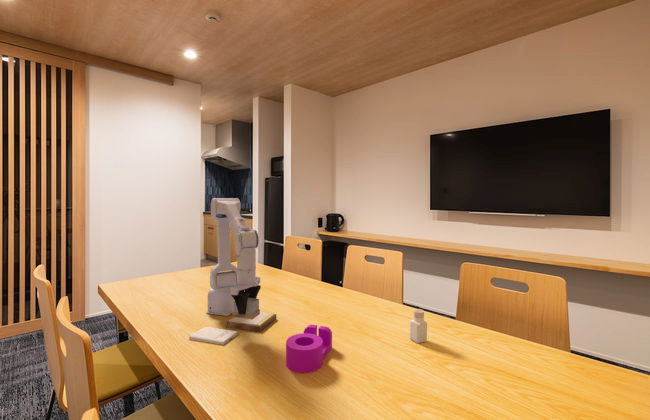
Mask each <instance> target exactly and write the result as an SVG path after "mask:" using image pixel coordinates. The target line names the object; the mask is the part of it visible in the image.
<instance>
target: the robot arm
mask: <svg viewBox="0 0 650 420" xmlns="http://www.w3.org/2000/svg"><path fill="white" fill-rule="evenodd" d="M241 208H242V205H241V201H240V199H239V198H238V197H235V198H234V197H231V198H230V197H229V198H228V197H227V198H226V197H225V198H224V197H222V198H220V197H218V198H216V197H213V198H212V199H211V200H210V218H211V220H212V221H215V225H216V245H217V249H216V250H217V264H216V265H215V266H212V268H211V269H210V276H209V285H210V289H209V291H208V293H207V311H206V314H209V315H217V316H223V317H224V316H225V317H229V315H233V312H234V301H235V303H236V306H237V309H238V313H239V314H245V313H246V307H247V300H248V298H256V299H258V294H259V292H260V291H261V287H262V286H261V285H259V284H261V277H260V276H256V275H257V274H256V273H257V272H256V270H257V268H256V263H257V262H256V261H257V260H256V259H257V258H256V257H257V255H256V254H257V251H256V249H257V248H258V247H259V243H260V239H259V238H260V237H259V234H258V231H257V230H256V229H253V228H251V227H250V225H249V223H248V222H247V219H246V218H245V217H242V216H241V213H240V212H241ZM230 231H231V232H232V235H233V236H234V240H233V241H234V242H233V243H234V247H235V249H234V250H235V255H236V266H235V265H234V264H232V263H231V261H232V260H231V236H230V235H231V234H230V233H231V232H230Z"/></svg>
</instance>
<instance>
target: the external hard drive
mask: <svg viewBox="0 0 650 420" xmlns="http://www.w3.org/2000/svg"><path fill="white" fill-rule="evenodd" d="M238 335H239V331H235V330H229V329H222V328H217V327H211V326H204V327H202V328H200V329H199V330H197V331H195V332H193V333H192V334H190V335H189V336H188V339H189V340H191V341H197V342H204V343H208V344H209V343H210V344H215V345H220V346H224V345H226V344H227V343H228V342H229V341H231V339H233V338H235V337H236V336H238Z"/></svg>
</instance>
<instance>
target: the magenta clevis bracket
mask: <svg viewBox="0 0 650 420" xmlns="http://www.w3.org/2000/svg"><path fill="white" fill-rule="evenodd" d="M332 348H333V332H332V329H330V328H329V327H328V326H323V325H320V326H319V327H318V325H317V324H309V325H307V326H306V327H305V328H304V330H303V332H302V333H297V334H293V335H291V336H289V337H287V339H286V341H285V366H286V368H287V369H288V370H289V371H291V372H294V373H296V374H297V373H299V374H311V373H314V372H316V371H319V370H320V369H321V368H322V367H323V362H324V359H325V358H326V357H327V355H328V354H329V353H330V351H331V350H332Z"/></svg>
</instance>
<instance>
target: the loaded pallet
mask: <svg viewBox="0 0 650 420" xmlns="http://www.w3.org/2000/svg"><path fill="white" fill-rule="evenodd" d="M260 312H261V310H260V298H248V300H247V307H246V313H245V314H239V313H238V309H237V306H236V303H235V300H234V312H233V313H232V318H233V317H239V318H246V319H254V318H255V317H257V316H258V315H259V314H260Z"/></svg>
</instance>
